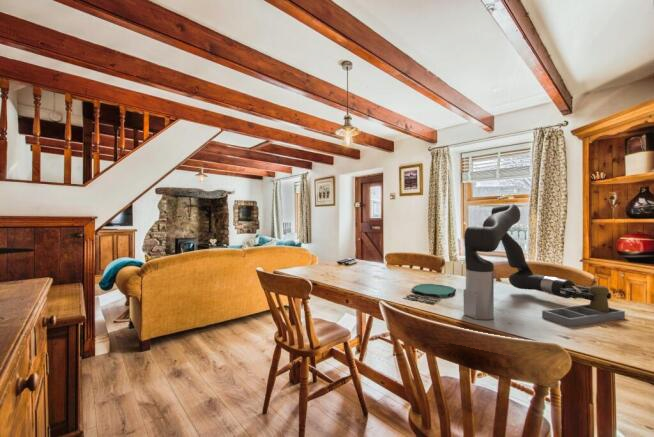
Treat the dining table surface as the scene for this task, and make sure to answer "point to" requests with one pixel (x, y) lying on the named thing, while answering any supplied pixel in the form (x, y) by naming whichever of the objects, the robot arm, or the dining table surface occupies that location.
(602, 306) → the cork
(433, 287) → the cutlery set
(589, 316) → the frame
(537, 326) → the dining table surface
